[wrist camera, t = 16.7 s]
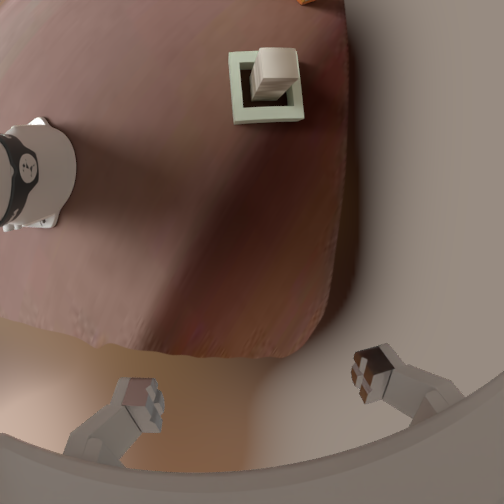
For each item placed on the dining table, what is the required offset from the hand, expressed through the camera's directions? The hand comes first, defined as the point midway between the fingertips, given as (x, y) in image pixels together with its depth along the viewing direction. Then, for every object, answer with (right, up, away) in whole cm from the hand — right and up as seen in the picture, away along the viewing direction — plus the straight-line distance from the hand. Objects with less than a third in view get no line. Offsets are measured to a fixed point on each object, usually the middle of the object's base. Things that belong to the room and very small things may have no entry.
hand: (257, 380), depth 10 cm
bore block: (+1, +28, +24) cm, 36 cm away
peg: (+1, +28, +24) cm, 36 cm away
